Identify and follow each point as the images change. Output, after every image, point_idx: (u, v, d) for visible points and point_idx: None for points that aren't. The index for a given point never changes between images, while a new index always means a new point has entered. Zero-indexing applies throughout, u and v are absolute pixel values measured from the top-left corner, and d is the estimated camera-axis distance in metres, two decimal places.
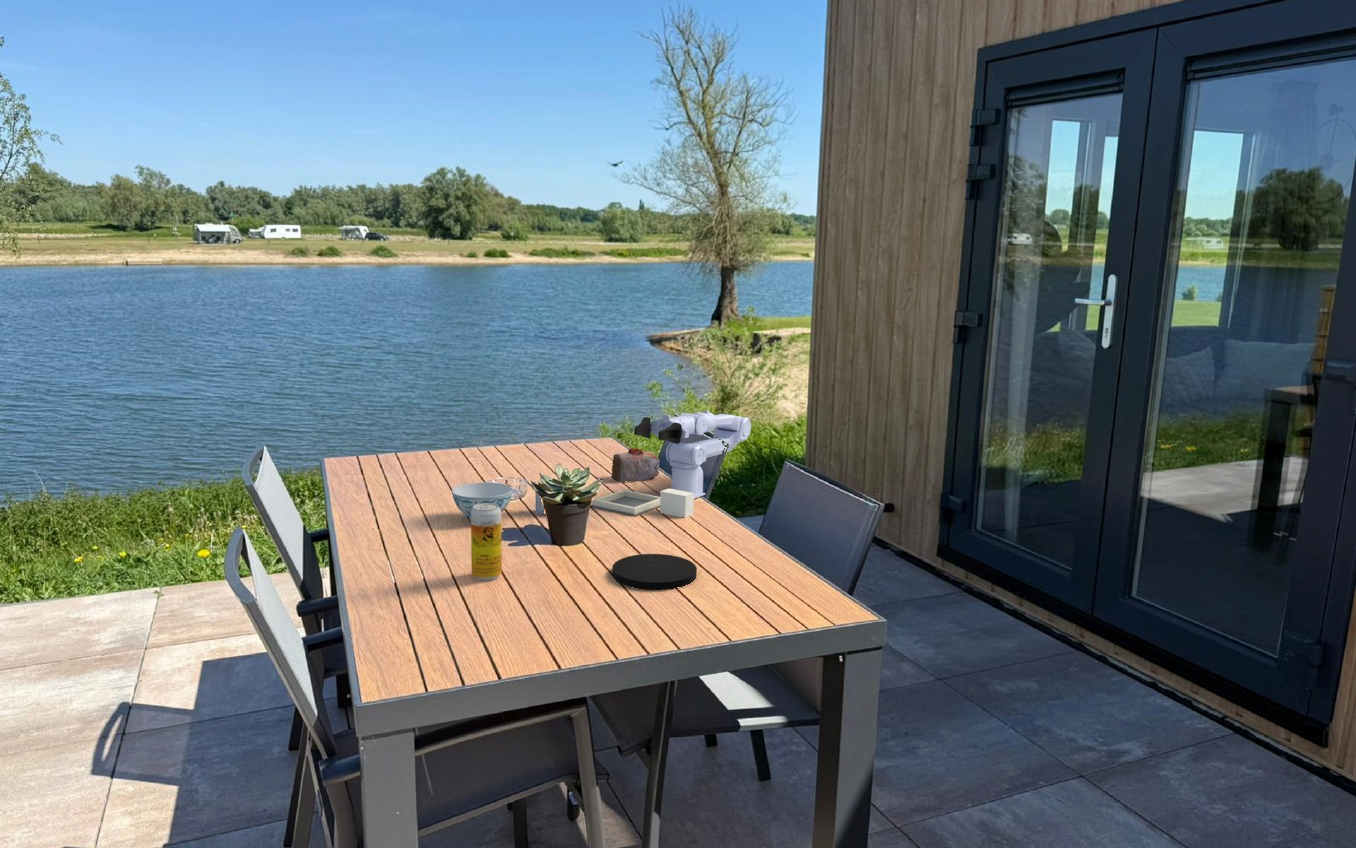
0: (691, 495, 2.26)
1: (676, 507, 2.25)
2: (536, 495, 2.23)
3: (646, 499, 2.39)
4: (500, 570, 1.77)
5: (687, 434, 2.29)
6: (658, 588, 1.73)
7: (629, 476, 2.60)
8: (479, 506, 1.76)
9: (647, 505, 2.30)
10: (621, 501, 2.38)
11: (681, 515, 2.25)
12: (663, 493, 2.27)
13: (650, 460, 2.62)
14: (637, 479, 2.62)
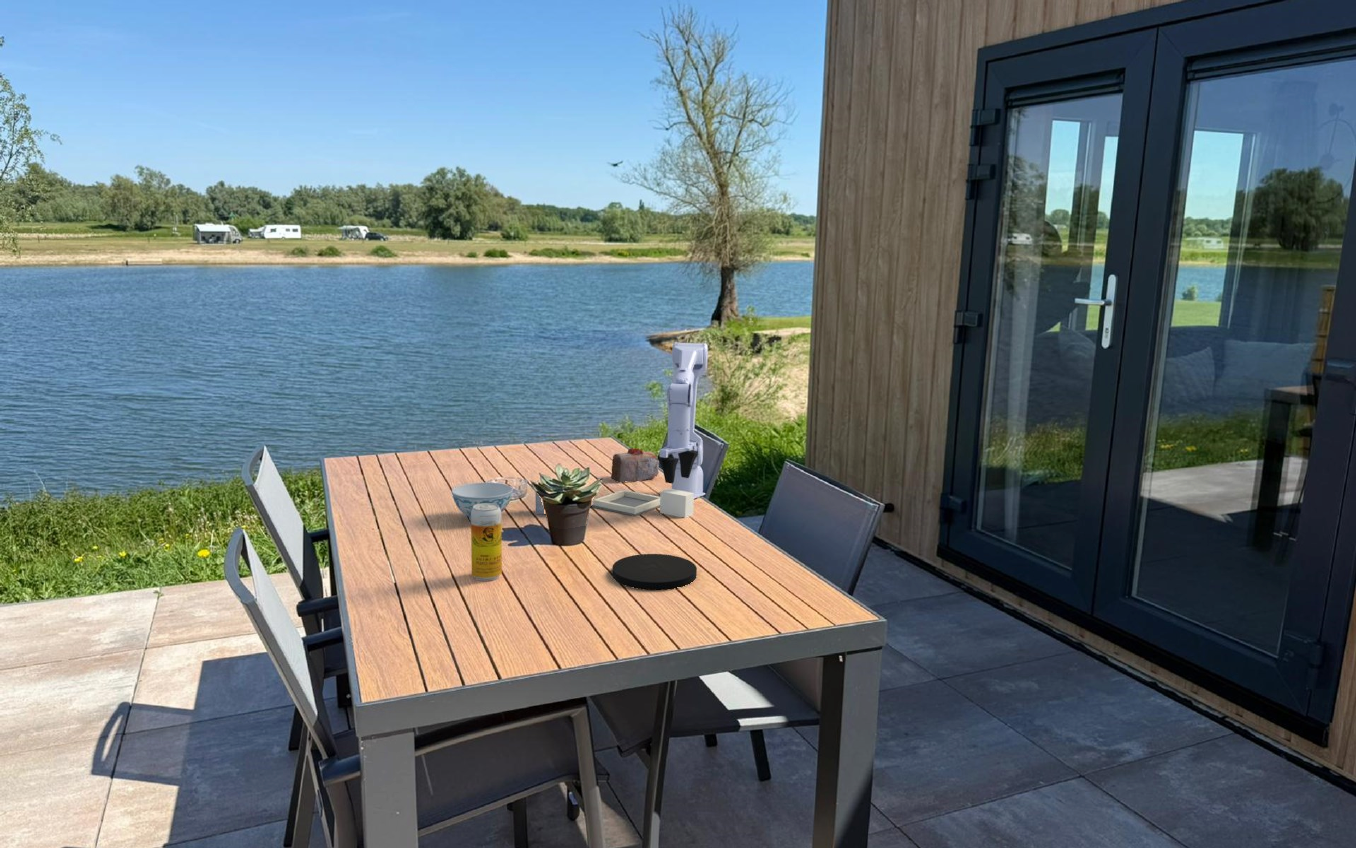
0: (691, 495, 2.26)
1: (676, 507, 2.25)
2: (536, 495, 2.23)
3: (646, 499, 2.39)
4: (500, 570, 1.77)
5: None
6: (658, 588, 1.73)
7: (629, 476, 2.60)
8: (479, 506, 1.76)
9: (647, 505, 2.30)
10: (621, 501, 2.38)
11: (681, 515, 2.25)
12: (663, 493, 2.27)
13: (650, 460, 2.62)
14: (637, 479, 2.62)
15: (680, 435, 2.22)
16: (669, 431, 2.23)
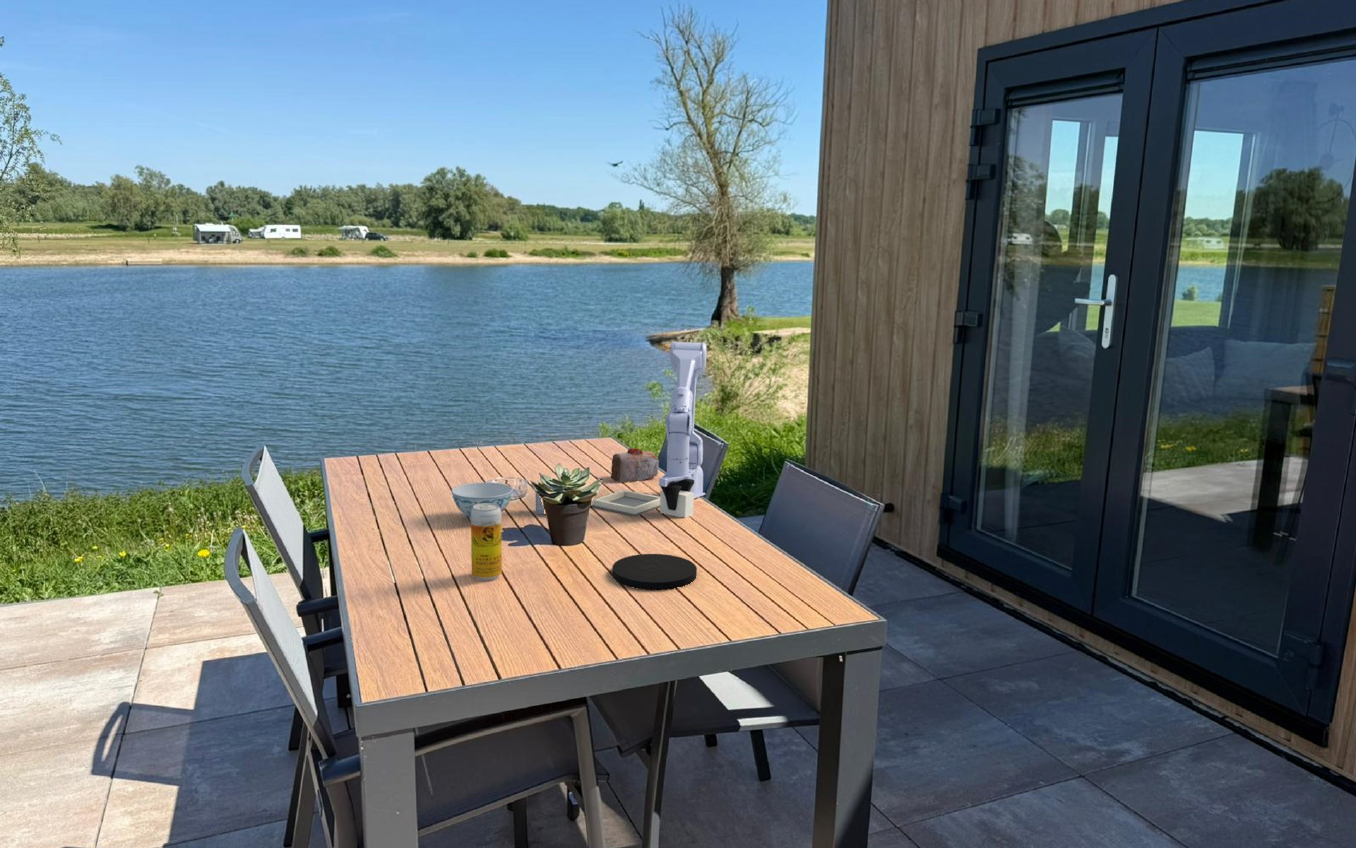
0: (691, 495, 2.26)
1: (676, 507, 2.25)
2: (536, 495, 2.23)
3: (646, 499, 2.39)
4: (500, 570, 1.77)
5: None
6: (658, 588, 1.73)
7: (628, 476, 2.60)
8: (479, 506, 1.76)
9: (647, 505, 2.30)
10: (621, 501, 2.38)
11: (681, 515, 2.25)
12: (663, 493, 2.27)
13: (650, 460, 2.62)
14: (637, 479, 2.62)
15: (679, 464, 2.23)
16: (668, 460, 2.24)
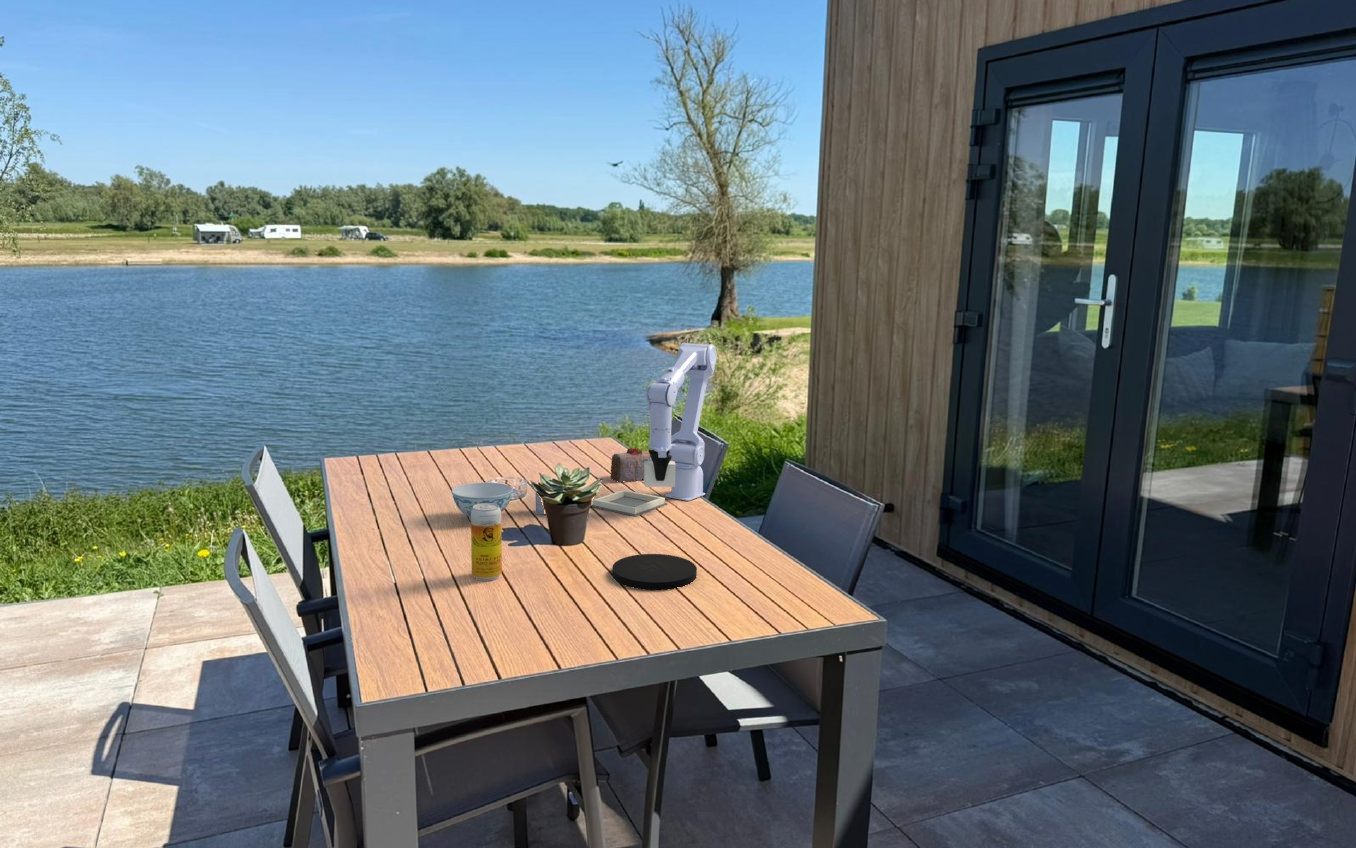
0: (674, 463, 2.29)
1: None
2: (536, 495, 2.23)
3: (646, 499, 2.39)
4: (500, 570, 1.77)
5: None
6: (658, 588, 1.73)
7: (628, 476, 2.60)
8: (479, 506, 1.76)
9: (647, 505, 2.30)
10: (621, 501, 2.38)
11: (670, 484, 2.27)
12: (649, 466, 2.26)
13: (649, 460, 2.62)
14: (636, 479, 2.62)
15: (668, 433, 2.25)
16: (656, 431, 2.24)
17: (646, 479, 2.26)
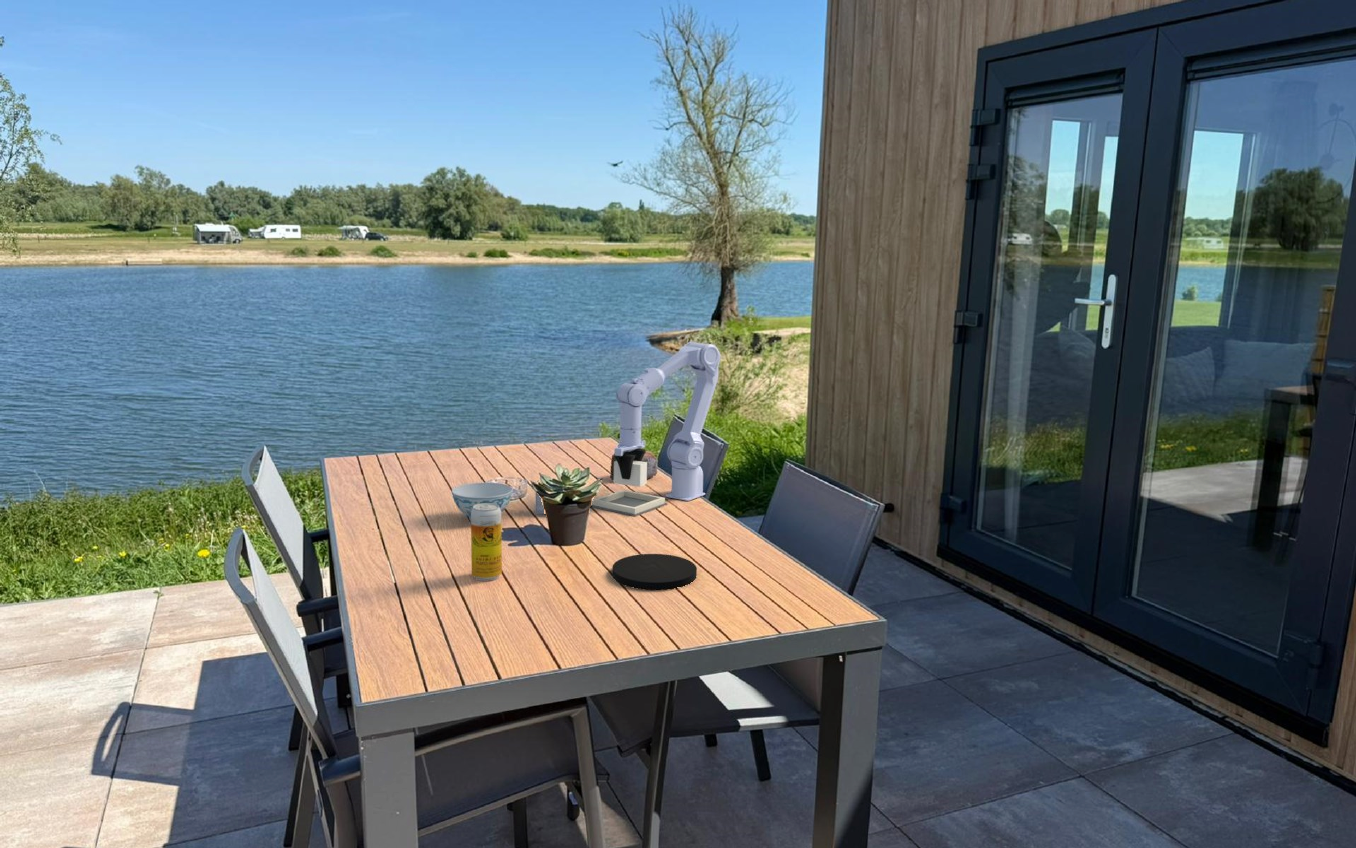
0: (645, 464, 2.32)
1: (630, 476, 2.31)
2: (536, 495, 2.23)
3: (646, 499, 2.39)
4: (500, 570, 1.77)
5: None
6: (658, 588, 1.73)
7: None
8: (479, 506, 1.76)
9: (647, 505, 2.30)
10: (621, 501, 2.38)
11: (636, 484, 2.31)
12: (617, 463, 2.32)
13: (649, 460, 2.63)
14: None
15: (633, 433, 2.29)
16: (622, 430, 2.29)
17: (614, 476, 2.33)
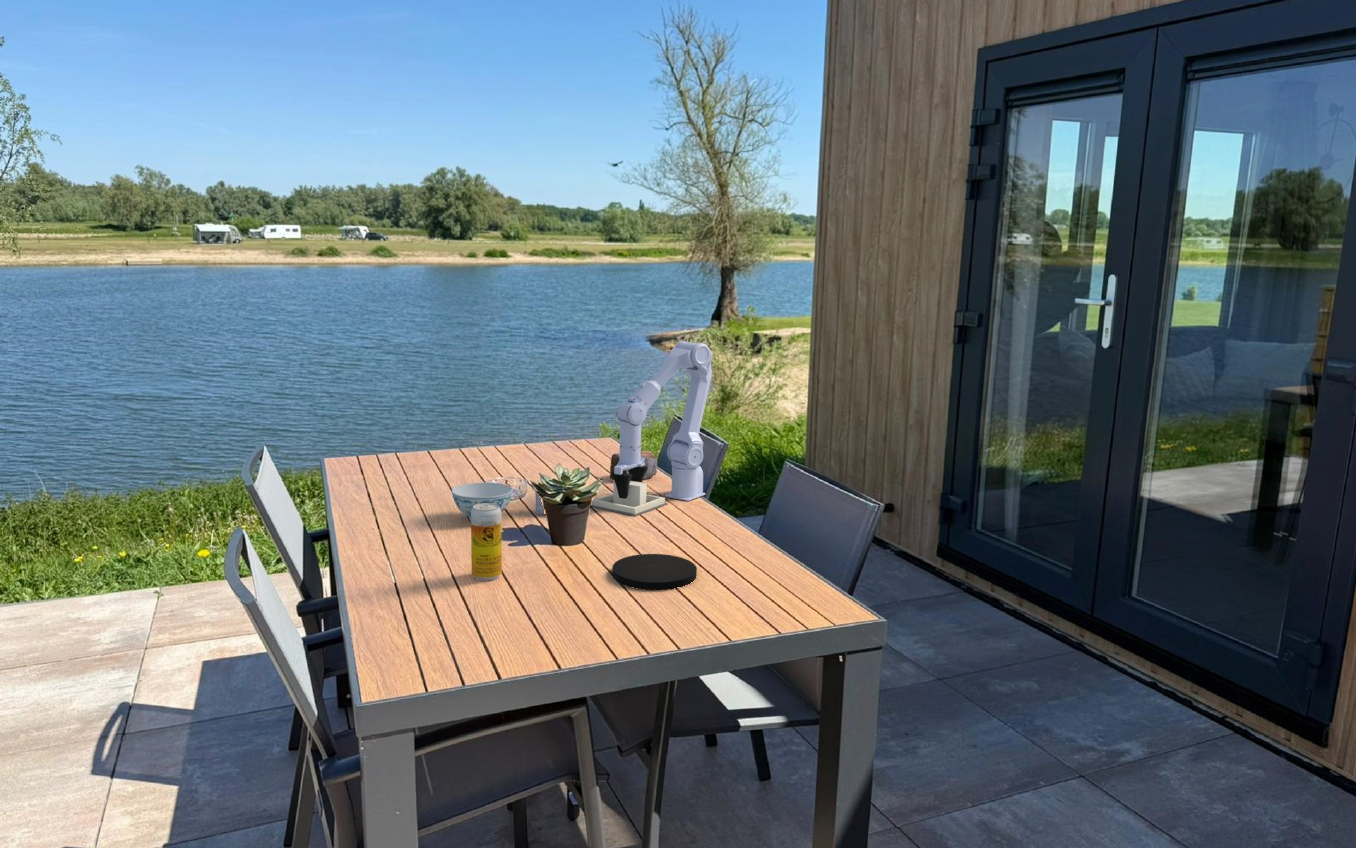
0: (644, 485, 2.33)
1: (630, 497, 2.32)
2: (536, 495, 2.23)
3: (646, 499, 2.39)
4: (500, 570, 1.77)
5: None
6: (658, 588, 1.73)
7: None
8: (479, 506, 1.76)
9: (647, 505, 2.30)
10: None
11: (635, 505, 2.32)
12: None
13: (648, 459, 2.63)
14: None
15: (633, 452, 2.29)
16: (621, 448, 2.30)
17: (614, 497, 2.34)
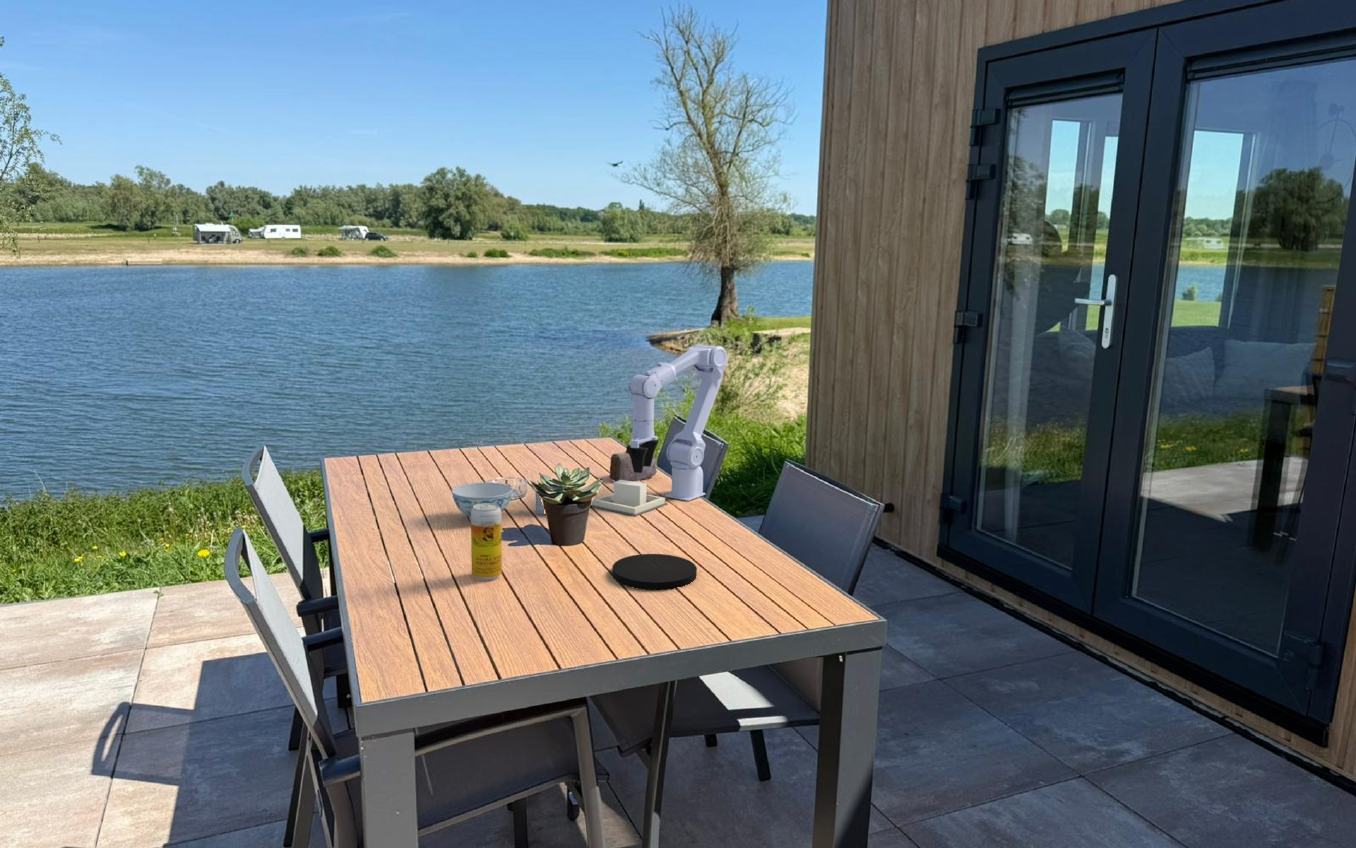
0: (644, 485, 2.33)
1: (630, 497, 2.32)
2: (536, 495, 2.23)
3: (646, 499, 2.39)
4: (500, 570, 1.77)
5: None
6: (658, 588, 1.73)
7: (628, 476, 2.60)
8: (479, 506, 1.76)
9: (647, 505, 2.30)
10: None
11: (635, 505, 2.32)
12: (616, 484, 2.33)
13: None
14: (636, 478, 2.62)
15: (647, 425, 2.28)
16: (635, 422, 2.28)
17: (614, 497, 2.34)
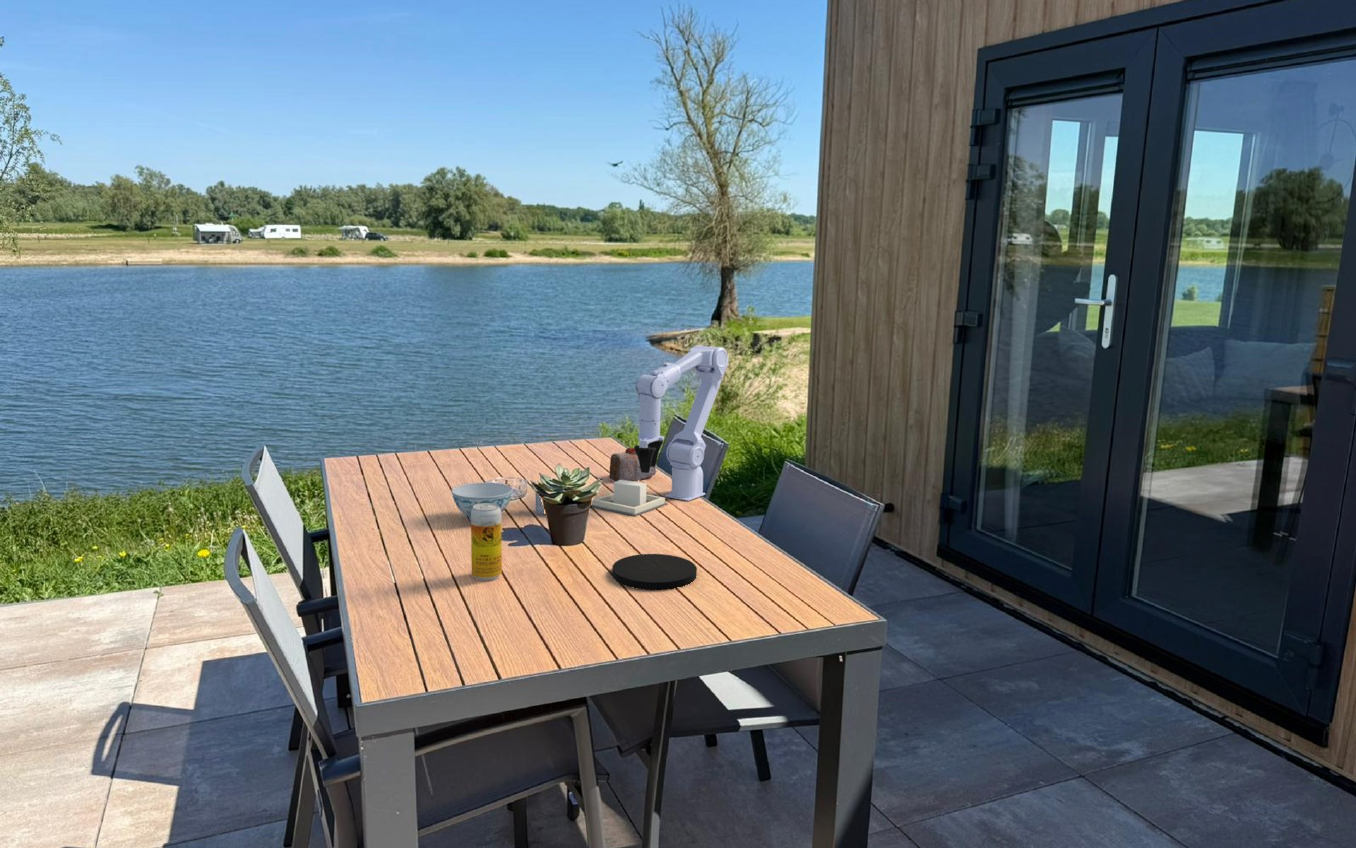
0: (644, 485, 2.33)
1: (630, 497, 2.32)
2: (536, 495, 2.23)
3: (646, 499, 2.39)
4: (500, 570, 1.77)
5: None
6: (658, 588, 1.73)
7: (628, 476, 2.61)
8: (479, 506, 1.76)
9: (647, 505, 2.30)
10: None
11: (635, 505, 2.32)
12: (616, 484, 2.33)
13: None
14: (635, 478, 2.62)
15: (654, 425, 2.28)
16: (642, 422, 2.28)
17: (614, 497, 2.34)
